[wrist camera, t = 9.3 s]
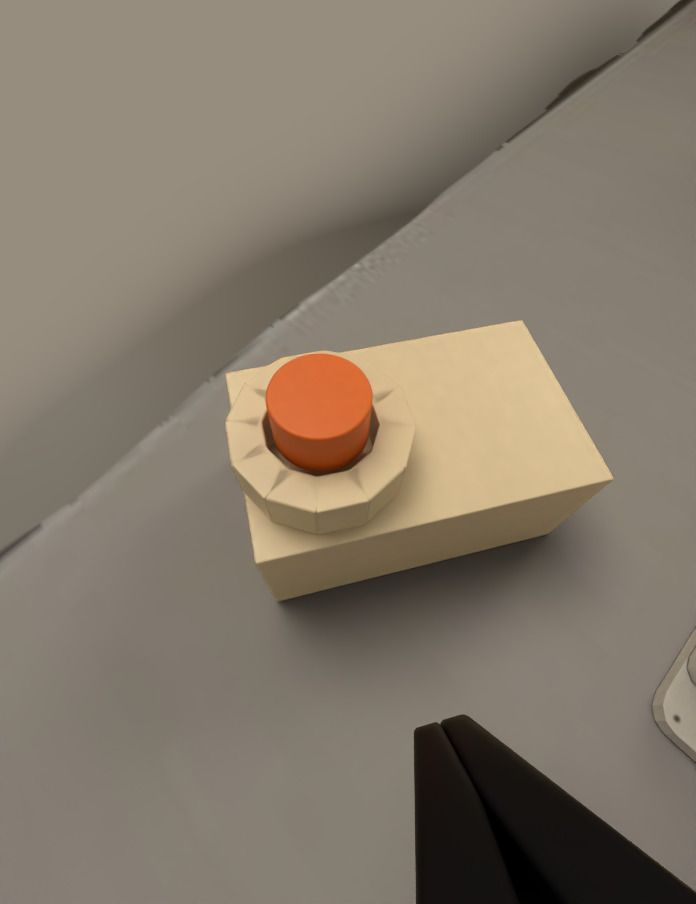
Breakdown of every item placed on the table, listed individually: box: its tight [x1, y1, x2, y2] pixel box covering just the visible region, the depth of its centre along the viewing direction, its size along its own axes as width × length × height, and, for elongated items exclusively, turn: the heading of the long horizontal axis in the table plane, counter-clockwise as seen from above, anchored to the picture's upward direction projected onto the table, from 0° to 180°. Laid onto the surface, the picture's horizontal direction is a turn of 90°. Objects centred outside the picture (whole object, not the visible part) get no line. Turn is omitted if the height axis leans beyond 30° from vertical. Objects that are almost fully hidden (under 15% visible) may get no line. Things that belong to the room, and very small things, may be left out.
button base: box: [225, 320, 614, 602], centre depth 19 cm, size 8×13×8 cm, turn 104°
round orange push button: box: [265, 353, 373, 472], centre depth 15 cm, size 3×3×2 cm
